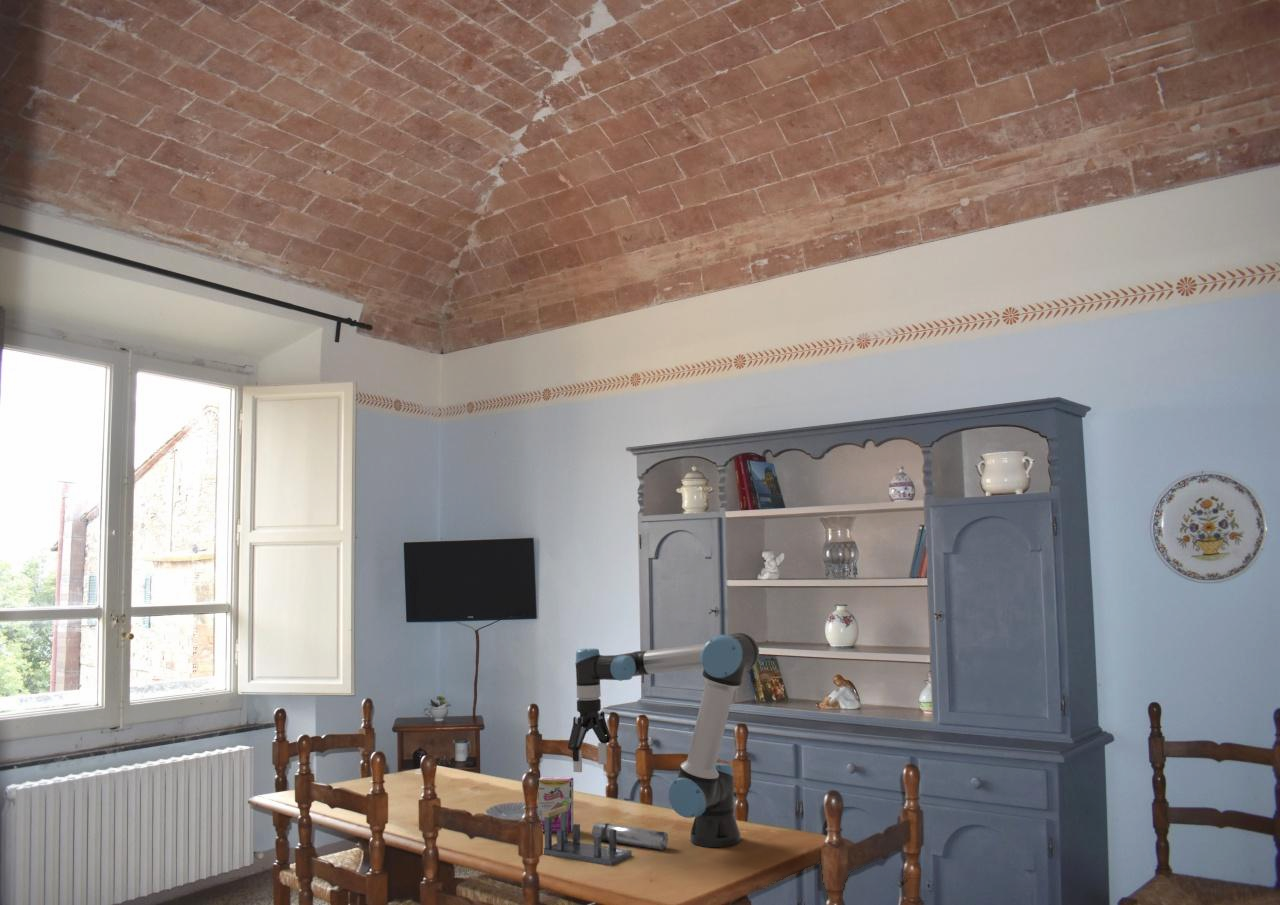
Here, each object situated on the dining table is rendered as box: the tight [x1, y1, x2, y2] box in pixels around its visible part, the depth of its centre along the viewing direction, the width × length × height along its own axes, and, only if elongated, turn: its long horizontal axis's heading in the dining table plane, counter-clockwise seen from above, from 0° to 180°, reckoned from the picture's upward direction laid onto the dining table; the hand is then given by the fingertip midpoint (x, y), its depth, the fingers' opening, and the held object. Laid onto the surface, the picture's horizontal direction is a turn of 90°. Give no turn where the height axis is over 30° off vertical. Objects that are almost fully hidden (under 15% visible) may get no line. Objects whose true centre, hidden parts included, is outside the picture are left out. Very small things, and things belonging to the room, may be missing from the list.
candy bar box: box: [538, 776, 575, 834], centre depth 325 cm, size 11×5×16 cm, turn 84°
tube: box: [591, 821, 669, 851], centre depth 307 cm, size 24×5×5 cm, turn 58°
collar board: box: [543, 806, 633, 866], centre depth 297 cm, size 24×11×12 cm, turn 58°
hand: (590, 768), depth 317 cm, fingers open, 13 cm apart
